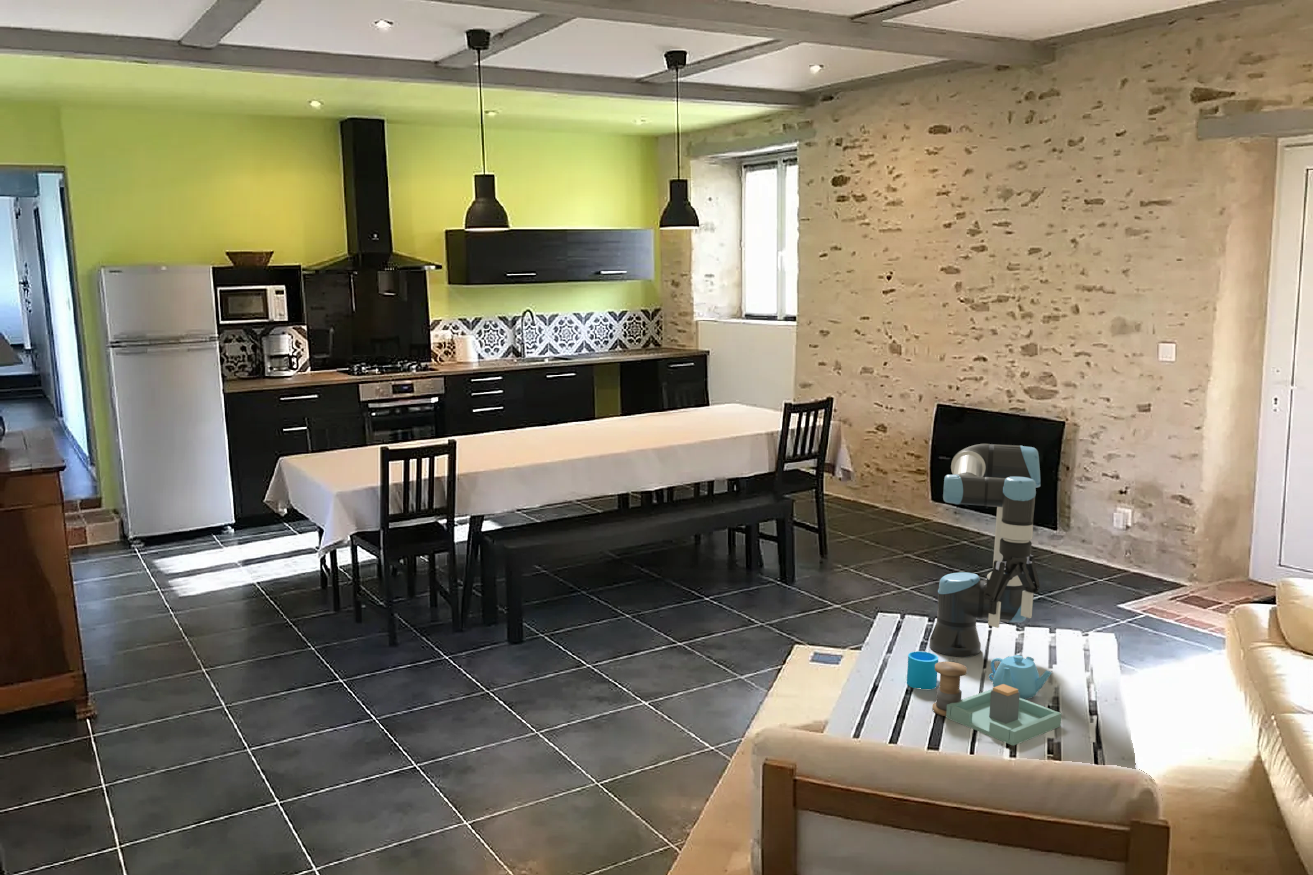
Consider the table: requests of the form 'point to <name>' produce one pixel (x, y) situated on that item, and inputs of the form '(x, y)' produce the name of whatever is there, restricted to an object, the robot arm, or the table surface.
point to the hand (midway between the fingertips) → (1010, 621)
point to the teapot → (1018, 675)
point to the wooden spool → (948, 685)
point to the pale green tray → (977, 717)
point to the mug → (922, 670)
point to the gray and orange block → (1004, 703)
